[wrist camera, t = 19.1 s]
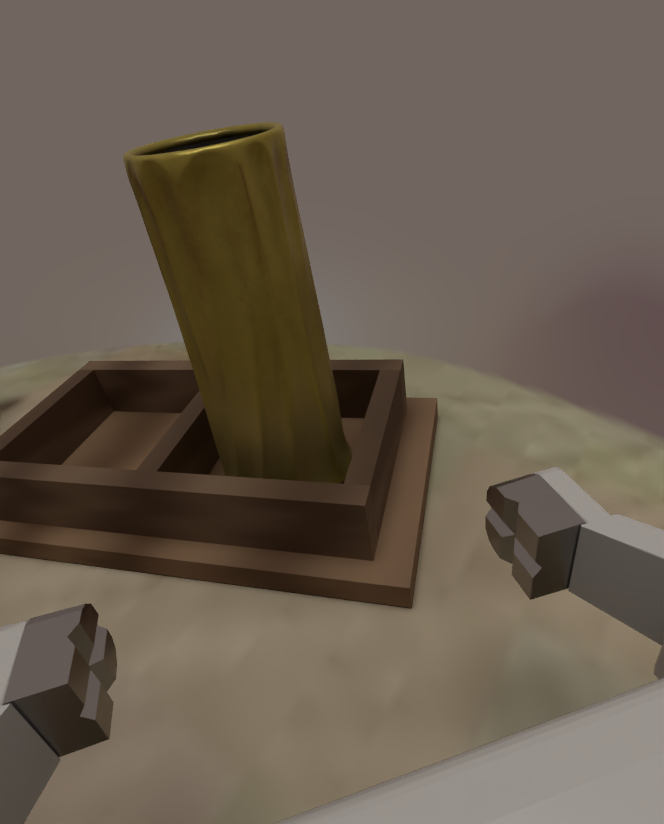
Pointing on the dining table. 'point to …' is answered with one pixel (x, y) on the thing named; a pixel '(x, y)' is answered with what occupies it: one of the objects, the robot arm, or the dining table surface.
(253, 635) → the dining table surface
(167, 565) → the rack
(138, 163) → the vase
